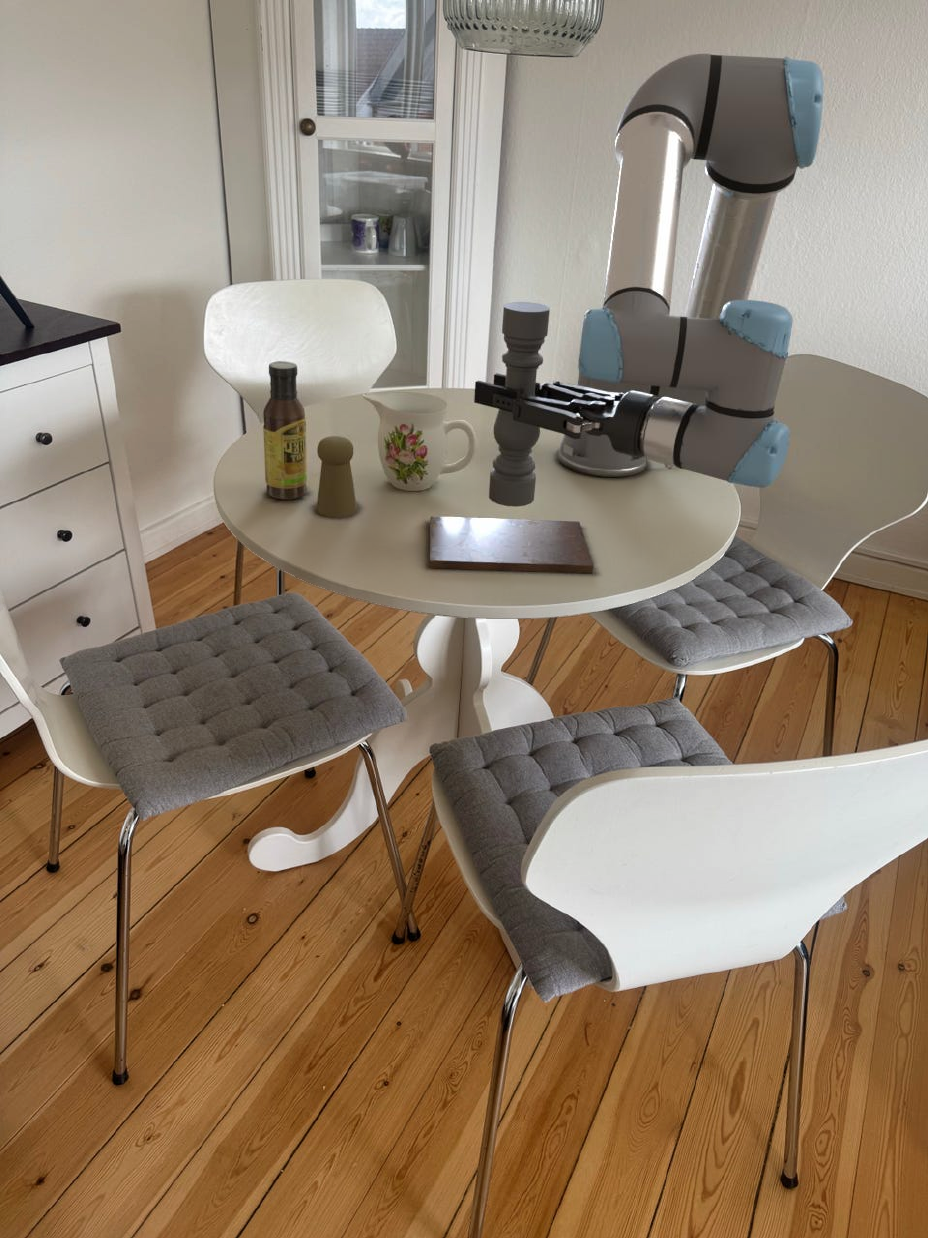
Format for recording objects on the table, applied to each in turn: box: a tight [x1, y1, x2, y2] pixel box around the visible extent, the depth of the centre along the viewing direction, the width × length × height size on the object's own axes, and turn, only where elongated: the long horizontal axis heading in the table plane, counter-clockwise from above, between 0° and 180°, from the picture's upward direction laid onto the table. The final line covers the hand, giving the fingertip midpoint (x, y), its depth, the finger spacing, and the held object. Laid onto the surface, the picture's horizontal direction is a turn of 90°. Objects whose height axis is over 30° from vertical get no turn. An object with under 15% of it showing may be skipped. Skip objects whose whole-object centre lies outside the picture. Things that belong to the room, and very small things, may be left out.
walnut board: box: [429, 515, 594, 574], centre depth 128 cm, size 22×14×1 cm, turn 92°
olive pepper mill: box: [316, 435, 358, 518], centre depth 134 cm, size 6×6×11 cm
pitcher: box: [362, 391, 477, 492], centre depth 143 cm, size 11×18×14 cm, turn 83°
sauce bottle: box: [262, 360, 308, 500], centre depth 136 cm, size 6×6×20 cm
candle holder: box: [488, 301, 551, 508], centre depth 117 cm, size 6×6×25 cm
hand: (486, 387), depth 119 cm, fingers closed on candle holder, 4 cm apart
